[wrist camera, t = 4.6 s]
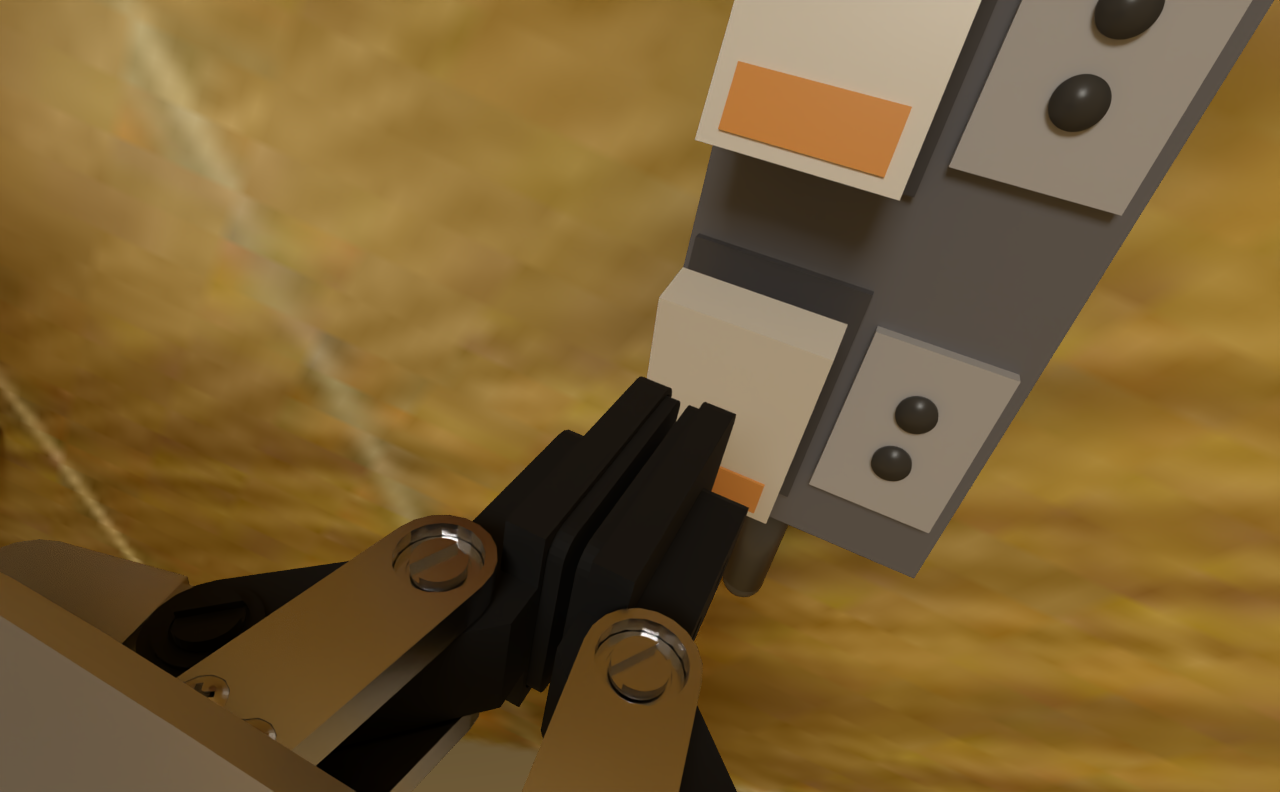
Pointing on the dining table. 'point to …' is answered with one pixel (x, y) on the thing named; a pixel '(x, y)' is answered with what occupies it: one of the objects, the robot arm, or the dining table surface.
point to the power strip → (961, 255)
